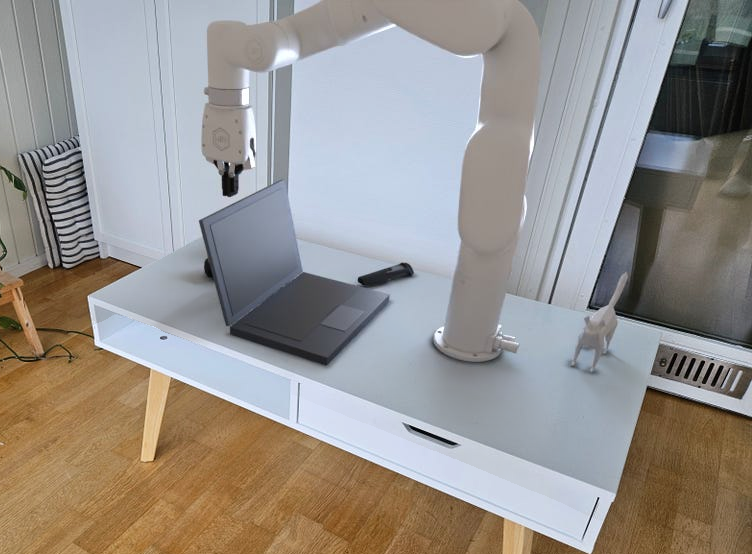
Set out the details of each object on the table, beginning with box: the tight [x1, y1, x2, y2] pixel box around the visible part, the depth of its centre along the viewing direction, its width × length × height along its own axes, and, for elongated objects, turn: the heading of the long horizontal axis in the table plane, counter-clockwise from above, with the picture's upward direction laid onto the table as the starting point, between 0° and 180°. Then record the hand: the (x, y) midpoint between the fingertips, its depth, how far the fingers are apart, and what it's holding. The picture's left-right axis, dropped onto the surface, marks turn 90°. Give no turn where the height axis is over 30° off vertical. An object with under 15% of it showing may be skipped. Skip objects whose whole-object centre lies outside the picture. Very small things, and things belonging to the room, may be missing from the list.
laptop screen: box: [198, 178, 304, 327], centre depth 130 cm, size 21×30×1 cm
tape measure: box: [203, 257, 214, 279], centre depth 145 cm, size 7×7×4 cm
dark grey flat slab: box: [229, 271, 391, 367], centre depth 130 cm, size 21×30×2 cm
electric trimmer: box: [357, 262, 415, 287], centre depth 145 cm, size 4×16×3 cm, turn 123°
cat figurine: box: [570, 271, 629, 374], centre depth 115 cm, size 4×20×14 cm, turn 142°
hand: (230, 194), depth 127 cm, fingers closed
